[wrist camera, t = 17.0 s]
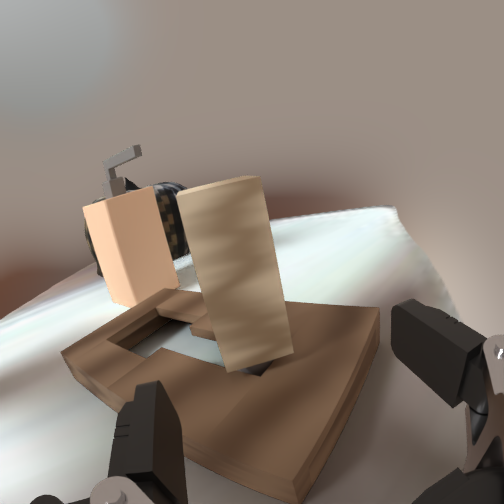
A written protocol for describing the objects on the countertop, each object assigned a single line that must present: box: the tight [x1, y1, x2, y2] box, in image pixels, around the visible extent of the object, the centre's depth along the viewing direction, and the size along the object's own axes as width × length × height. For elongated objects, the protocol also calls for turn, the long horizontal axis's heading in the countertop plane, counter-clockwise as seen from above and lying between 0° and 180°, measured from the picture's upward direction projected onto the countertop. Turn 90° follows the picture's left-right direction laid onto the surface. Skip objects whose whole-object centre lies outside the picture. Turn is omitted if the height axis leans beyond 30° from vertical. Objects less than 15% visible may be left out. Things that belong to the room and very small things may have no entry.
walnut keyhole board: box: [61, 288, 380, 504], centre depth 25 cm, size 26×16×4 cm, turn 57°
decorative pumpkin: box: [85, 178, 190, 277], centre depth 69 cm, size 30×29×20 cm
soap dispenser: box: [83, 145, 180, 308], centre depth 42 cm, size 13×9×22 cm
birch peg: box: [176, 176, 294, 377], centre depth 19 cm, size 5×5×16 cm
